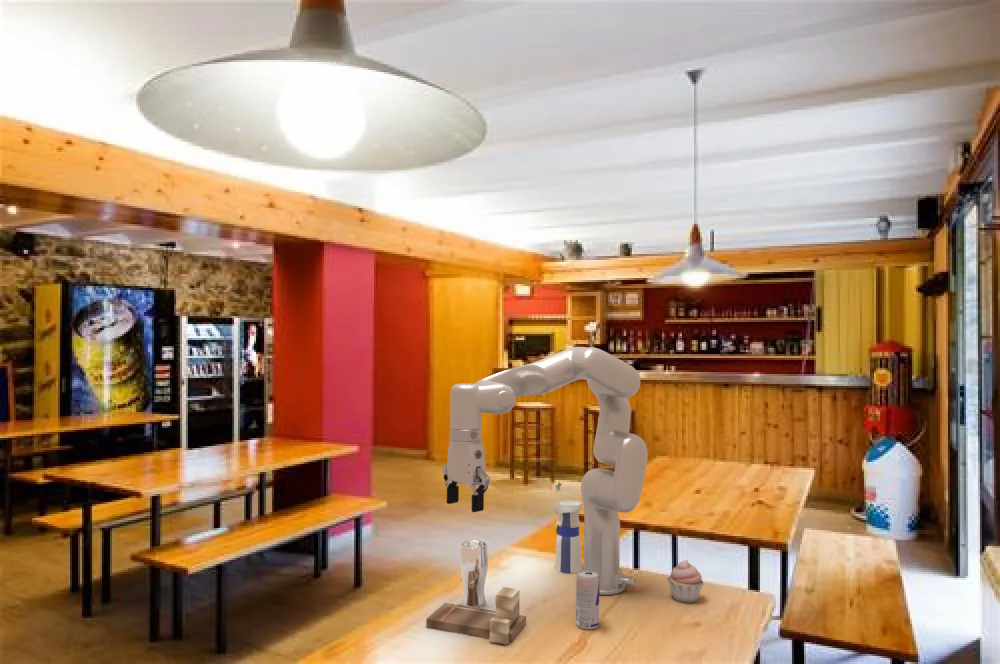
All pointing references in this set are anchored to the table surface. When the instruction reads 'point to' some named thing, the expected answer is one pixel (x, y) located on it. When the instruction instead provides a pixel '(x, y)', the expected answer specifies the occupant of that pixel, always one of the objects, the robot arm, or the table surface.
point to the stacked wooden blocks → (504, 614)
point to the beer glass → (473, 572)
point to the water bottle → (568, 536)
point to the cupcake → (685, 582)
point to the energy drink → (587, 599)
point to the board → (469, 621)
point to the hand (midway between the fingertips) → (464, 507)
